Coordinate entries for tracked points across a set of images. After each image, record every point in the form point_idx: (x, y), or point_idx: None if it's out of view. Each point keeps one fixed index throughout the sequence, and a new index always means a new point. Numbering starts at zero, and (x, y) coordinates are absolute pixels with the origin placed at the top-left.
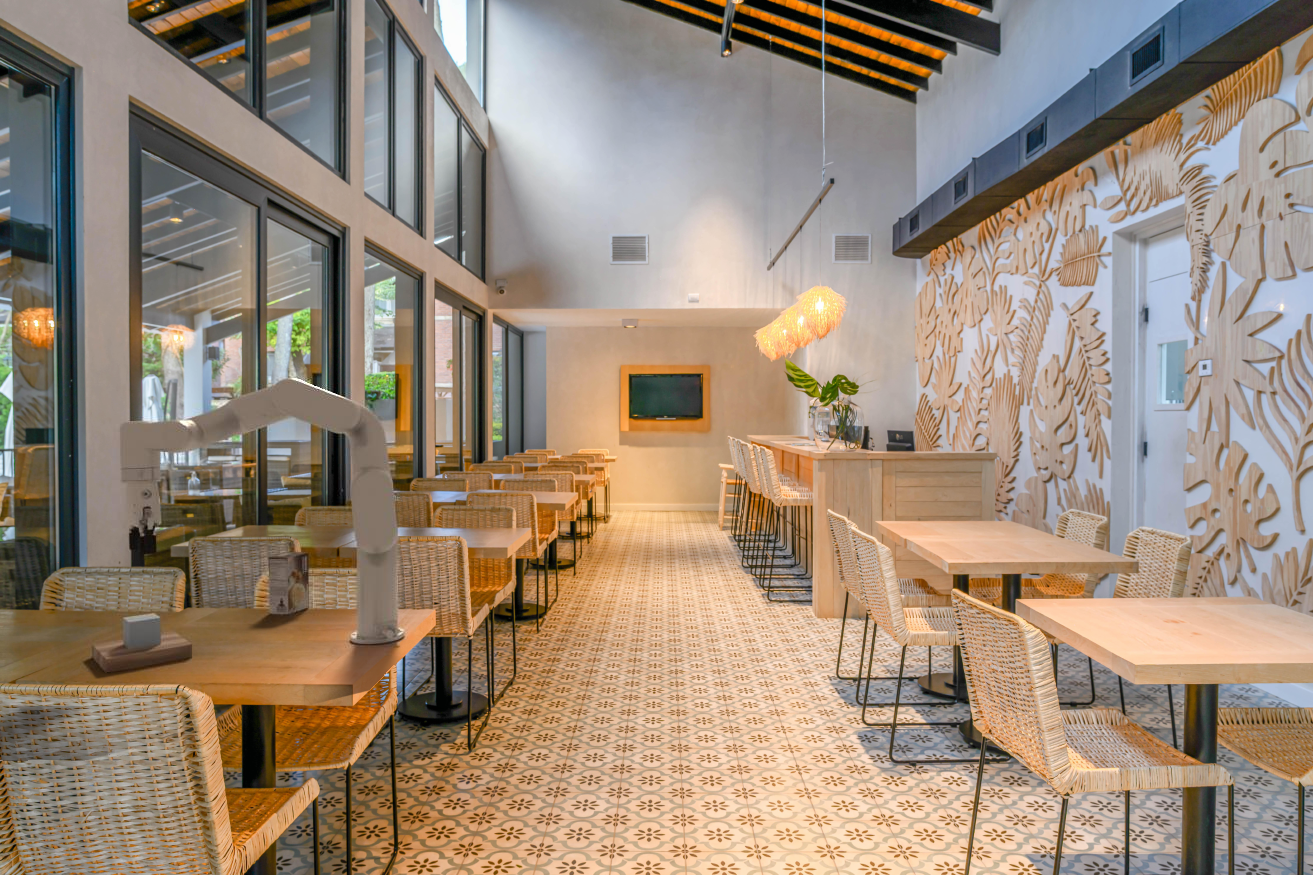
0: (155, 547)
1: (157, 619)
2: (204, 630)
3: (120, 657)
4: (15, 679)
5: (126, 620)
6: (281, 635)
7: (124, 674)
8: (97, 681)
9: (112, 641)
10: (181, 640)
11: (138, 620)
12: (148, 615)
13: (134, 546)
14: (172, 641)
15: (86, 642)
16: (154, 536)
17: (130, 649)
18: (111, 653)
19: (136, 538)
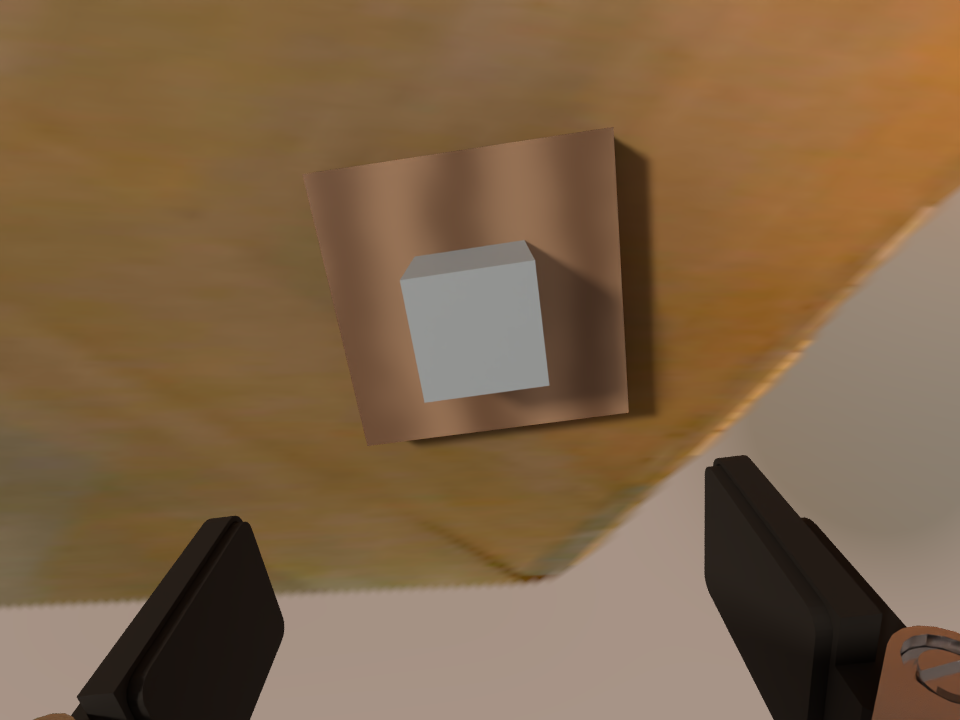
0: (770, 495)
1: (534, 272)
2: (125, 19)
3: (625, 372)
4: (514, 577)
5: (496, 392)
6: None
7: (671, 347)
8: (694, 413)
9: (365, 389)
10: (514, 160)
11: (534, 350)
12: (443, 306)
13: (265, 625)
14: (507, 195)
15: (140, 436)
16: (868, 618)
17: None
18: (557, 396)
19: (216, 692)
